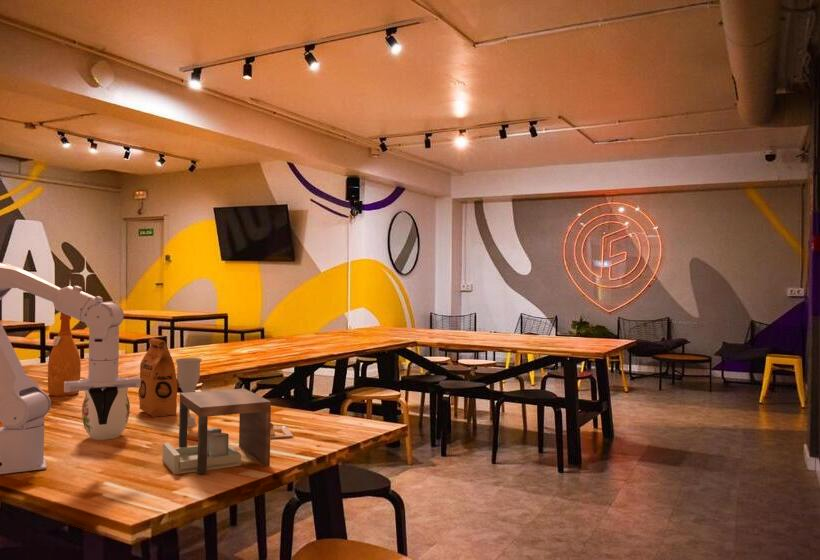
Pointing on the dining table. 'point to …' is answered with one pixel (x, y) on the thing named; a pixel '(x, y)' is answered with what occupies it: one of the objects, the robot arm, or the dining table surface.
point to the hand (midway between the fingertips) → (102, 423)
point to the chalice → (188, 379)
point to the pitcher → (115, 418)
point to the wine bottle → (63, 360)
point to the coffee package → (158, 381)
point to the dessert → (282, 429)
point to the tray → (187, 457)
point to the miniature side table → (226, 403)
